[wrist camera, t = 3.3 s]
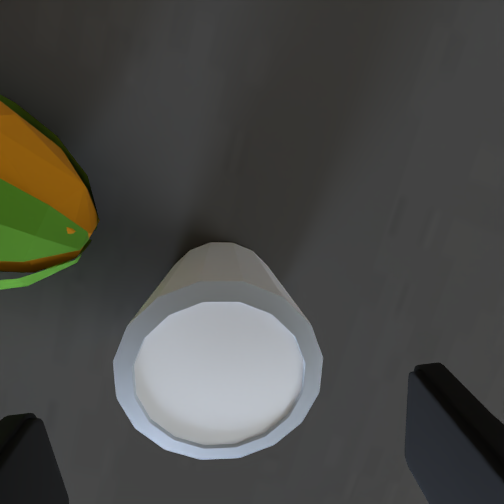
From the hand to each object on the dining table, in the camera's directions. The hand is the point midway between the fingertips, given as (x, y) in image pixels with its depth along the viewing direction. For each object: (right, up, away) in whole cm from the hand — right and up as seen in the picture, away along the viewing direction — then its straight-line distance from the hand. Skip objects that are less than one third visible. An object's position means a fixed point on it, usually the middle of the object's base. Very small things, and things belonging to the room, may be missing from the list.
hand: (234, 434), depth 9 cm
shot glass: (-1, +3, +9) cm, 10 cm away
